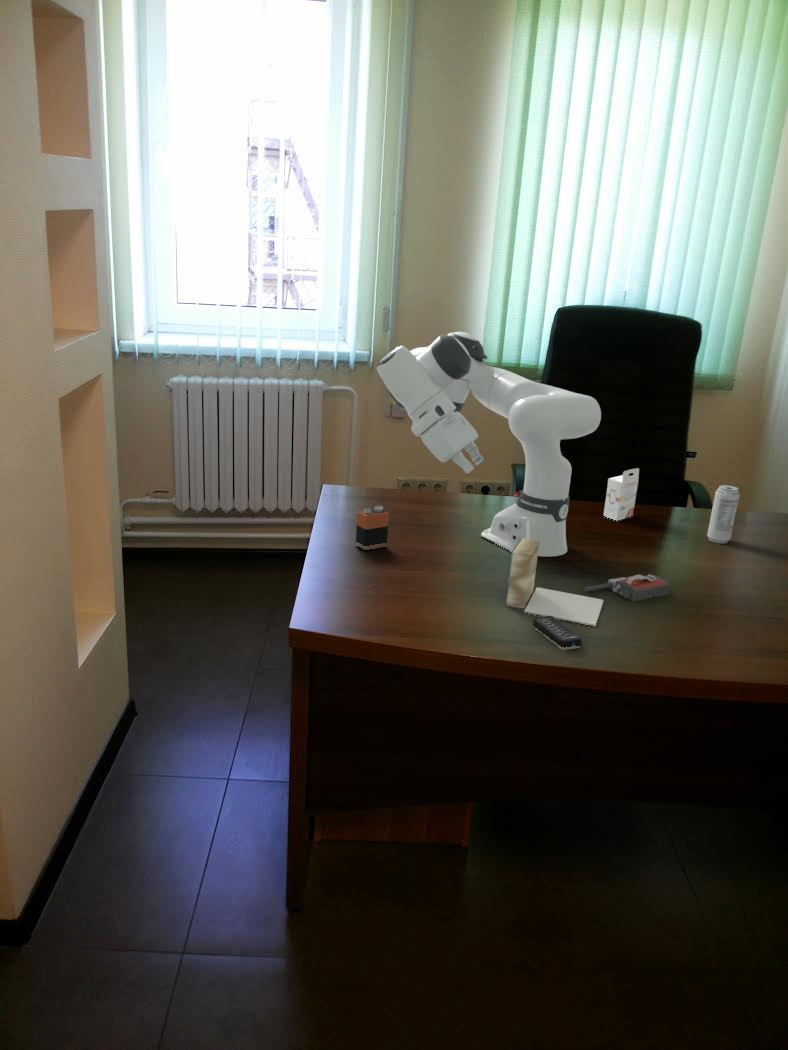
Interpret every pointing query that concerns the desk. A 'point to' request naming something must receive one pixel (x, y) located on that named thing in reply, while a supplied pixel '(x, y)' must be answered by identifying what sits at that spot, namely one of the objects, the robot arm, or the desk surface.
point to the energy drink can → (723, 514)
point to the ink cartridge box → (621, 495)
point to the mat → (565, 606)
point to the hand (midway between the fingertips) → (475, 466)
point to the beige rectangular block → (522, 572)
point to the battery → (372, 526)
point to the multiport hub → (557, 631)
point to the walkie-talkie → (636, 587)
